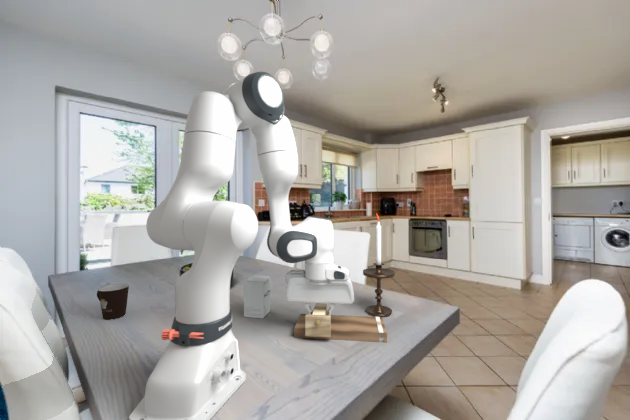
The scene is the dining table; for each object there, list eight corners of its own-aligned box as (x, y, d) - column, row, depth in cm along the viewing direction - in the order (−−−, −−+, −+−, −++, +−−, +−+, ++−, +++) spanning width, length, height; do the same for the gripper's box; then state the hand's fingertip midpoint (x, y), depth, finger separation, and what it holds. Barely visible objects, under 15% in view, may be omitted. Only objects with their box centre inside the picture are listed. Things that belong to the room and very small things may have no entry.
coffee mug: (132, 315, 96) (132, 287, 96) (101, 323, 90) (100, 293, 89) (123, 307, 104) (123, 280, 104) (94, 314, 98) (94, 285, 97)
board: (386, 342, 76) (386, 332, 76) (294, 337, 80) (294, 328, 80) (382, 325, 87) (382, 316, 87) (300, 321, 91) (300, 313, 90)
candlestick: (357, 312, 97) (356, 213, 97) (373, 304, 105) (373, 212, 105) (385, 321, 90) (384, 213, 89) (400, 311, 98) (400, 212, 97)
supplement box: (263, 319, 93) (263, 281, 92) (243, 317, 94) (242, 280, 94) (271, 310, 100) (271, 275, 100) (252, 309, 101) (252, 274, 101)
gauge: (330, 339, 75) (330, 319, 75) (304, 337, 76) (304, 318, 76) (332, 321, 87) (332, 303, 87) (310, 320, 88) (310, 303, 88)
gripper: (283, 272, 81) (283, 319, 81) (354, 274, 78) (354, 322, 78) (287, 267, 87) (288, 311, 87) (353, 268, 84) (353, 314, 85)
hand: (320, 316), depth 83 cm, fingers closed on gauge, 3 cm apart
